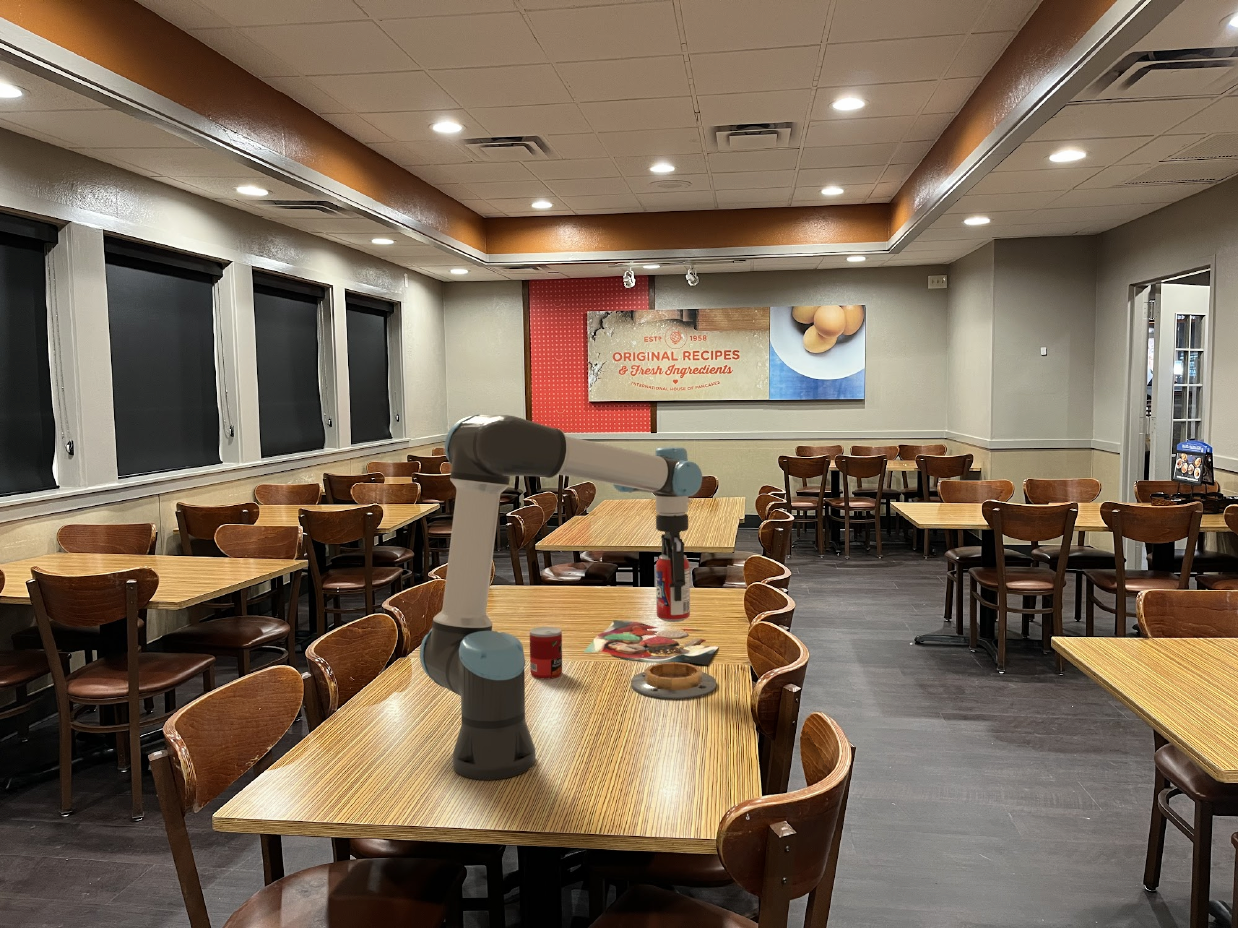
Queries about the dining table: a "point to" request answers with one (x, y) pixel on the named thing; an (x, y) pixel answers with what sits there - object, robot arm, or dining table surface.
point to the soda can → (665, 591)
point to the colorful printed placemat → (649, 644)
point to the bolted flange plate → (673, 681)
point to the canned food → (546, 652)
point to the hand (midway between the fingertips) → (673, 609)
